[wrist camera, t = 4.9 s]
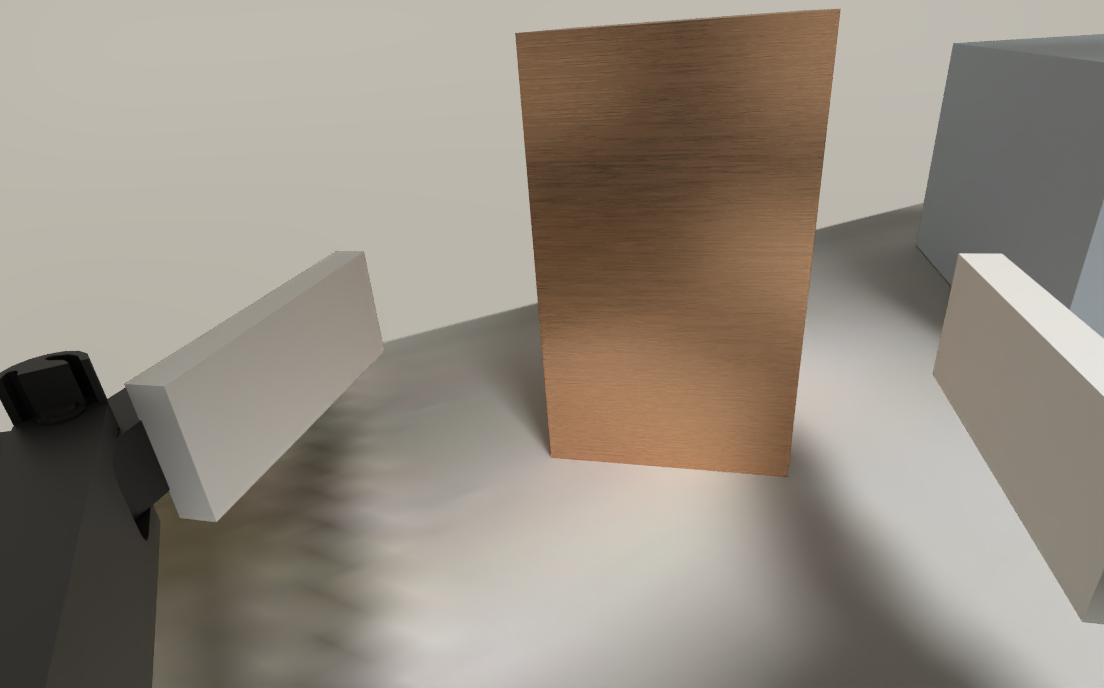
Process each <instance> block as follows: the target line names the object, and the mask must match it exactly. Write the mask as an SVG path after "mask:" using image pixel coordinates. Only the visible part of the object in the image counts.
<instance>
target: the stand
mask: <svg viewBox="0 0 1104 688" xmlns="http://www.w3.org/2000/svg"><path fill="white" fill-rule="evenodd" d="M916 245H917V247H918V248H919V249H920V250H921V251H922V252H923V254H924V255H925V256H926V257H927V258H928V260H929V261H930V262H931V263H932V264H933V265H934V267H935V268H936V269H937V270H938V271H939V272H940V274H941V275H942V276H943V277H944V278H945V279H946V281H947V282H948V283H949V284H950V285H951V287H952V282H953V278H954V273H955V268H956V264H957V259H958V254H959V253H971V254H1003V255H1004V256H1005V257H1007V258H1008V259H1009V260H1010V261H1011V262H1013V263H1014V264H1015V265H1016V266H1017V267H1019V268H1020V269H1021V270H1022V271H1023V272H1025V273H1026V274H1027V275H1028V276H1029V277H1031V278H1032V279H1033V280H1034V281H1035V282H1037V283H1038V284H1039V285H1040V286H1041V287H1043V288H1044V289H1045V290H1046V291H1047V292H1048V293H1050V294H1051V295H1052V296H1053V297H1054V298H1056V299H1057V300H1058V301H1059V302H1060V303H1062V304H1063V305H1064V306H1065V307H1066V308H1068V309H1069V310H1070V311H1071V312H1072V313H1074V314H1075V315H1076V316H1077V317H1078V318H1080V319H1081V320H1082V321H1083V322H1084V323H1086V324H1087V325H1088V326H1089V327H1090V328H1091V329H1093V330H1094V331H1095V332H1096V333H1097V334H1099V335H1100V336H1101V337H1102V338H1103V339H1104V34H1097V35H1081V36H1066V37H1065V36H1064V37H1050V38H1032V39H1016V40H1000V41H984V42H968V43H954V44H953V48H952V54H951V60H950V65H949V70H948V75H947V81H946V86H945V92H944V97H943V103H942V108H941V113H940V119H939V124H938V129H937V135H936V140H935V146H934V151H933V156H932V162H931V167H930V172H929V178H928V183H927V189H926V194H925V199H924V205H923V210H922V216H921V221H920V226H919V232H918V237H917V243H916Z"/></svg>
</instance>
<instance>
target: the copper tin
mask: <svg viewBox="0 0 1104 688" xmlns="http://www.w3.org/2000/svg"><path fill="white" fill-rule="evenodd" d="M839 18H840V9H827V10H803V11H790V12H776V13H764V14H750V15H737V16H723V17H711V18H697V19H684V20H671V21H657V22H644V23H631V24H617V25H604V26H591V27H578V28H566V29H555V30H545V31H534V32H524V33H515V35H516V47H517V57H518V70H519V83H520V94H521V106H522V118H523V130H524V141H525V154H526V164H527V165H526V166H527V177H528V189H529V201H530V212H531V225H532V237H533V249H534V260H535V272H536V284H537V296H538V308H539V320H540V332H541V344H542V355H543V367H544V379H545V391H546V403H547V415H548V427H549V438H550V450H551V458H563V459H575V460H587V461H599V462H611V463H624V464H636V465H648V466H660V467H672V468H685V469H697V470H709V471H721V472H734V473H746V474H758V475H770V476H782V477H787V476H788V467H789V458H790V450H791V441H792V432H793V423H794V414H795V406H796V397H797V388H798V379H799V370H800V361H801V353H802V344H803V335H804V326H805V317H806V309H807V300H808V291H809V282H810V273H811V265H812V256H813V247H814V238H815V229H816V221H817V212H818V202H819V194H820V185H821V177H822V168H823V159H824V150H825V141H826V133H827V123H828V115H829V106H830V97H831V88H832V79H833V71H834V62H835V53H836V44H837V35H838V27H839Z"/></svg>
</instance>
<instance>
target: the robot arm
mask: <svg viewBox="0 0 1104 688" xmlns="http://www.w3.org/2000/svg"><path fill="white" fill-rule="evenodd" d="M383 352H384V347H383V342H382V337H381V332H380V327H379V322H378V318H377V313H376V308H375V303H374V298H373V294H372V289H371V284H370V279H369V274H368V269H367V265H366V260H365V255H364V251H336V252H334V253H332V254H331V255H329V256H328V257H326V258H325V259H323V260H322V261H320V262H318V263H317V264H315V265H313V266H312V267H310V268H309V269H307V270H306V271H304V272H302V273H301V274H299V275H297V276H296V277H294V278H293V279H291V280H289V281H288V282H286V283H285V284H283V285H282V286H280V287H278V288H277V289H275V290H273V291H272V292H270V293H269V294H267V295H266V296H264V297H262V298H261V299H259V300H257V301H256V302H254V303H253V304H251V305H249V306H248V307H246V308H245V309H243V310H241V311H240V312H238V313H237V314H235V315H233V316H232V317H230V318H229V319H227V320H226V321H224V322H222V323H221V324H219V325H217V326H216V327H214V328H213V329H211V330H210V331H208V332H206V333H205V334H203V335H202V336H200V337H198V338H197V339H195V340H194V341H192V342H190V343H189V344H187V345H186V346H184V347H182V348H181V349H179V350H178V351H176V352H175V353H173V354H171V355H170V356H168V357H167V358H165V359H163V360H162V361H160V362H158V363H157V364H155V365H154V366H152V367H151V368H149V369H147V370H146V371H144V372H143V373H141V374H139V375H138V376H136V377H134V378H133V379H131V380H130V381H128V382H126V383H125V384H124V385H125V387H126V388H124V389H123V390H121V391H120V392H118V393H116V394H115V395H113V396H112V397H110V398H108V399H107V398H106V395H105V393H104V391H103V388H102V386H101V384H100V381H99V379H98V377H97V375H96V372H95V370H94V368H93V365H92V363H91V361H90V358H89V356H88V354H87V353H84V352H80V351H64V352H58V353H52V354H47V355H43V356H39V357H36V358H32V359H29V360H27V361H24V362H21V363H19V364H17V365H14V366H11V367H10V368H8V369H6V370H4V371H3V372H1V373H0V400H1V402H2V404H3V406H4V408H5V410H6V412H7V413H8V415H9V417H10V419H11V421H12V423H13V425H14V426H13V428H12V431H7V432H0V688H152V676H153V656H154V636H155V616H156V596H157V576H158V556H159V536H160V520H159V518H158V515H157V513H156V510H155V508H154V506H153V504H154V503H155V502H156V501H158V500H159V499H160V498H161V497H162V496H163V495H164V494H166V493H167V492H168V491H169V493H170V495H171V498H172V500H173V502H174V505H175V507H176V510H177V512H178V515H179V517H180V518H185V519H193V520H202V521H211V522H217V521H218V520H219V519H220V518H221V517H222V516H223V515H224V514H225V513H226V512H227V511H228V510H229V509H230V508H231V507H232V506H233V505H234V504H235V503H236V502H237V501H238V500H239V499H240V498H241V497H242V496H243V495H244V494H245V493H246V492H247V491H248V490H249V489H250V488H251V487H252V486H253V485H254V484H255V483H256V482H257V481H258V479H259V478H260V477H261V476H262V475H263V474H264V473H265V472H266V471H267V470H268V469H269V468H270V467H271V466H272V465H273V464H274V463H275V462H276V461H277V460H278V459H279V458H280V457H281V456H282V455H283V454H284V453H285V452H286V451H287V450H288V449H289V448H290V447H291V446H292V445H293V444H294V443H295V442H296V441H297V440H298V439H299V438H300V437H301V436H302V435H303V434H304V433H305V432H306V431H307V430H308V429H309V427H310V426H311V425H312V424H313V423H314V422H315V421H316V420H317V419H318V418H319V417H320V416H321V415H322V414H323V413H324V412H325V411H326V410H327V409H328V408H329V407H330V406H331V405H332V404H333V403H334V402H335V401H336V400H337V399H338V398H339V397H340V396H341V395H342V394H343V393H344V392H345V391H346V390H347V389H348V388H349V387H350V386H351V385H352V384H353V383H354V382H355V381H356V380H357V379H358V378H359V377H360V376H361V374H362V373H363V372H364V371H365V370H366V369H367V368H368V367H369V366H370V365H371V364H372V363H373V362H374V361H375V360H376V359H377V358H378V357H379V356H380V355H381V354H382V353H383ZM933 375H934V377H935V379H936V380H937V382H938V384H939V385H940V387H941V389H942V390H943V392H944V394H945V395H946V397H947V399H948V400H949V402H950V404H951V405H952V407H953V409H954V410H955V412H956V414H957V415H958V417H959V418H960V420H961V422H962V423H963V425H964V427H965V428H966V430H967V432H968V433H969V435H970V437H971V438H972V440H973V442H974V443H975V445H976V447H977V448H978V450H979V452H980V453H981V455H982V457H983V458H984V460H985V462H986V463H987V465H988V467H989V468H990V470H991V472H992V473H993V475H994V477H995V478H996V480H997V482H998V483H999V485H1000V486H1001V488H1002V490H1003V491H1004V493H1005V495H1006V496H1007V498H1008V500H1009V501H1010V503H1011V505H1012V506H1013V508H1014V510H1015V511H1016V513H1017V515H1018V516H1019V518H1020V520H1021V521H1022V523H1023V525H1024V526H1025V528H1026V530H1027V531H1028V533H1029V535H1030V536H1031V538H1032V540H1033V541H1034V543H1035V545H1036V546H1037V548H1038V550H1039V551H1040V553H1041V554H1042V556H1043V558H1044V559H1045V561H1046V563H1047V564H1048V566H1049V568H1050V569H1051V571H1052V573H1053V574H1054V576H1055V578H1056V579H1057V581H1058V583H1059V584H1060V586H1061V588H1062V589H1063V591H1064V593H1065V594H1066V596H1067V598H1068V599H1069V601H1070V603H1071V604H1072V606H1073V608H1074V609H1075V611H1076V613H1077V614H1078V616H1079V617H1080V619H1081V621H1082V622H1088V623H1097V624H1104V339H1103V338H1102V337H1101V336H1100V335H1099V334H1097V333H1096V332H1095V331H1094V330H1093V329H1091V328H1090V327H1089V326H1088V325H1087V324H1086V323H1084V322H1083V321H1082V320H1081V319H1080V318H1078V317H1077V316H1076V315H1075V314H1074V313H1072V312H1071V311H1070V310H1069V309H1068V308H1066V307H1065V306H1064V305H1063V304H1062V303H1060V302H1059V301H1058V300H1057V299H1056V298H1054V297H1053V296H1052V295H1051V294H1050V293H1048V292H1047V291H1046V290H1045V289H1044V288H1043V287H1041V286H1040V285H1039V284H1038V283H1037V282H1035V281H1034V280H1033V279H1032V278H1031V277H1029V276H1028V275H1027V274H1026V273H1025V272H1023V271H1022V270H1021V269H1020V268H1019V267H1017V266H1016V265H1015V264H1014V263H1013V262H1011V261H1010V260H1009V259H1008V258H1007V257H1005V256H1004V255H1003V254H971V253H959V254H958V259H957V264H956V268H955V273H954V278H953V282H952V287H951V291H950V296H949V301H948V305H947V310H946V315H945V319H944V324H943V329H942V333H941V338H940V342H939V347H938V352H937V356H936V361H935V366H934V370H933Z"/></svg>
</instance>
